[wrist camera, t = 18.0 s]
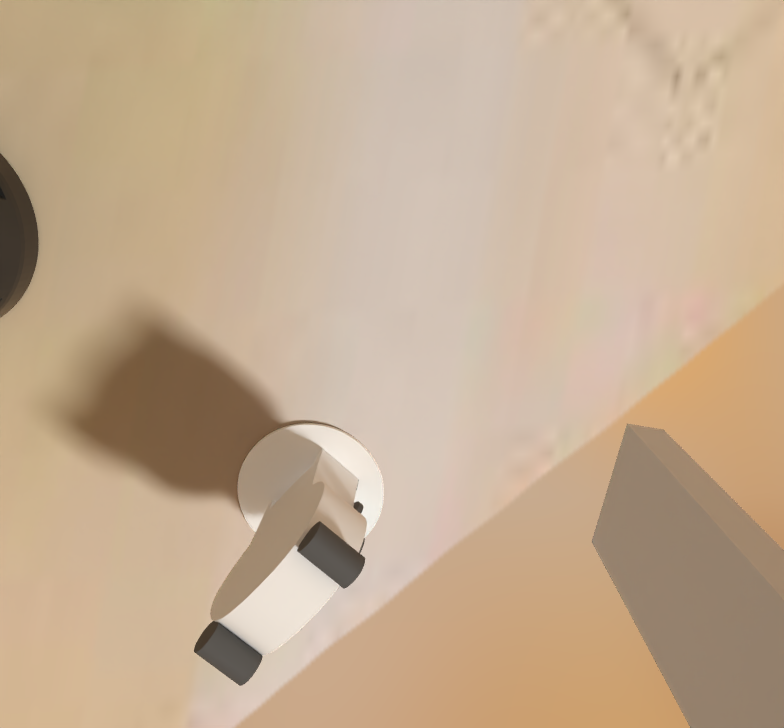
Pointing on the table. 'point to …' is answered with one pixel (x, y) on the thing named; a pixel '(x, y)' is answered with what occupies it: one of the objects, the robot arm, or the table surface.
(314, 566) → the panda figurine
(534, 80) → the table surface
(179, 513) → the table surface
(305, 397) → the table surface
